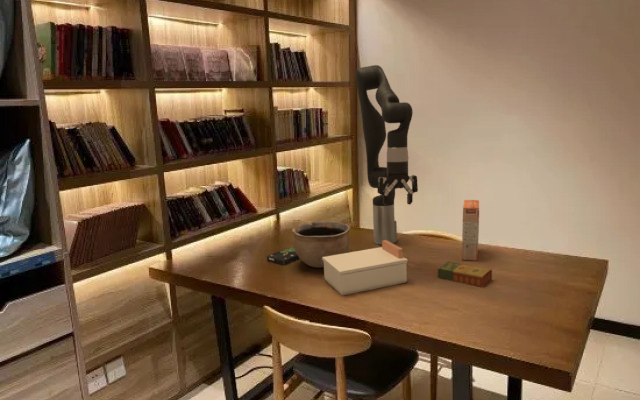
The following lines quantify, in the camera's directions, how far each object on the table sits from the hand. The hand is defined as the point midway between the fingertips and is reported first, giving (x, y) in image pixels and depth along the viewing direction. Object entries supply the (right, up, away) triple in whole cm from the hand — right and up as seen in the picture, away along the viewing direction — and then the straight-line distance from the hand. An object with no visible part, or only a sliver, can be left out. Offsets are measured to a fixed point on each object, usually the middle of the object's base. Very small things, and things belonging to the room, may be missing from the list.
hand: (397, 204), depth 170 cm
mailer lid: (-13, -19, -6) cm, 24 cm away
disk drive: (-41, -23, +24) cm, 52 cm away
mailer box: (-12, -27, -5) cm, 30 cm away
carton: (+22, -26, -8) cm, 35 cm away
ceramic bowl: (-27, -24, +14) cm, 38 cm away
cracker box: (+31, -20, +15) cm, 40 cm away
